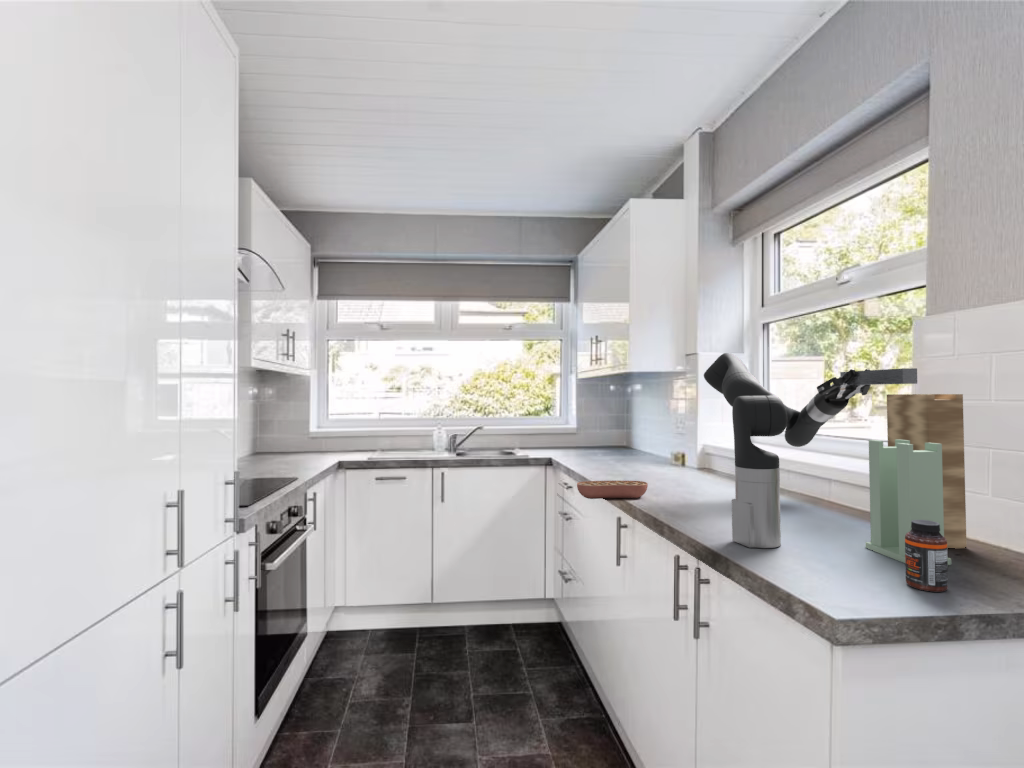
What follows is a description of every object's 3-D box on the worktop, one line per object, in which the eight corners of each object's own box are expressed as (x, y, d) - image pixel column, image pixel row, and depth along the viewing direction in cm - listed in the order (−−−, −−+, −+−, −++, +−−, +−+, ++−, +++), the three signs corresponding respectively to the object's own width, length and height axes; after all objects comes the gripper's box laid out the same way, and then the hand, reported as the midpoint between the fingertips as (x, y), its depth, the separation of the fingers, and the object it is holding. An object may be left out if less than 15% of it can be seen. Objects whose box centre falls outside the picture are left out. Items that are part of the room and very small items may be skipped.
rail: (840, 385, 150) (840, 372, 150) (853, 385, 150) (852, 372, 150) (902, 383, 128) (902, 368, 128) (917, 383, 128) (917, 368, 128)
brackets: (865, 547, 121) (863, 439, 121) (900, 546, 121) (898, 439, 122) (912, 566, 108) (909, 445, 108) (951, 564, 109) (948, 444, 109)
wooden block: (889, 535, 131) (886, 394, 132) (921, 534, 132) (918, 394, 132) (931, 549, 119) (927, 394, 120) (966, 548, 120) (962, 394, 120)
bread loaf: (579, 501, 177) (578, 485, 177) (575, 495, 187) (575, 480, 187) (650, 500, 177) (650, 484, 177) (643, 495, 187) (643, 480, 187)
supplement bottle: (897, 582, 99) (895, 518, 99) (928, 580, 100) (926, 517, 100) (924, 594, 93) (923, 526, 94) (957, 592, 94) (956, 525, 94)
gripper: (798, 392, 160) (830, 359, 145) (845, 392, 161) (882, 359, 146) (806, 416, 156) (840, 384, 141) (855, 415, 157) (893, 384, 142)
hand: (861, 372), depth 144 cm, fingers closed on rail, 3 cm apart
